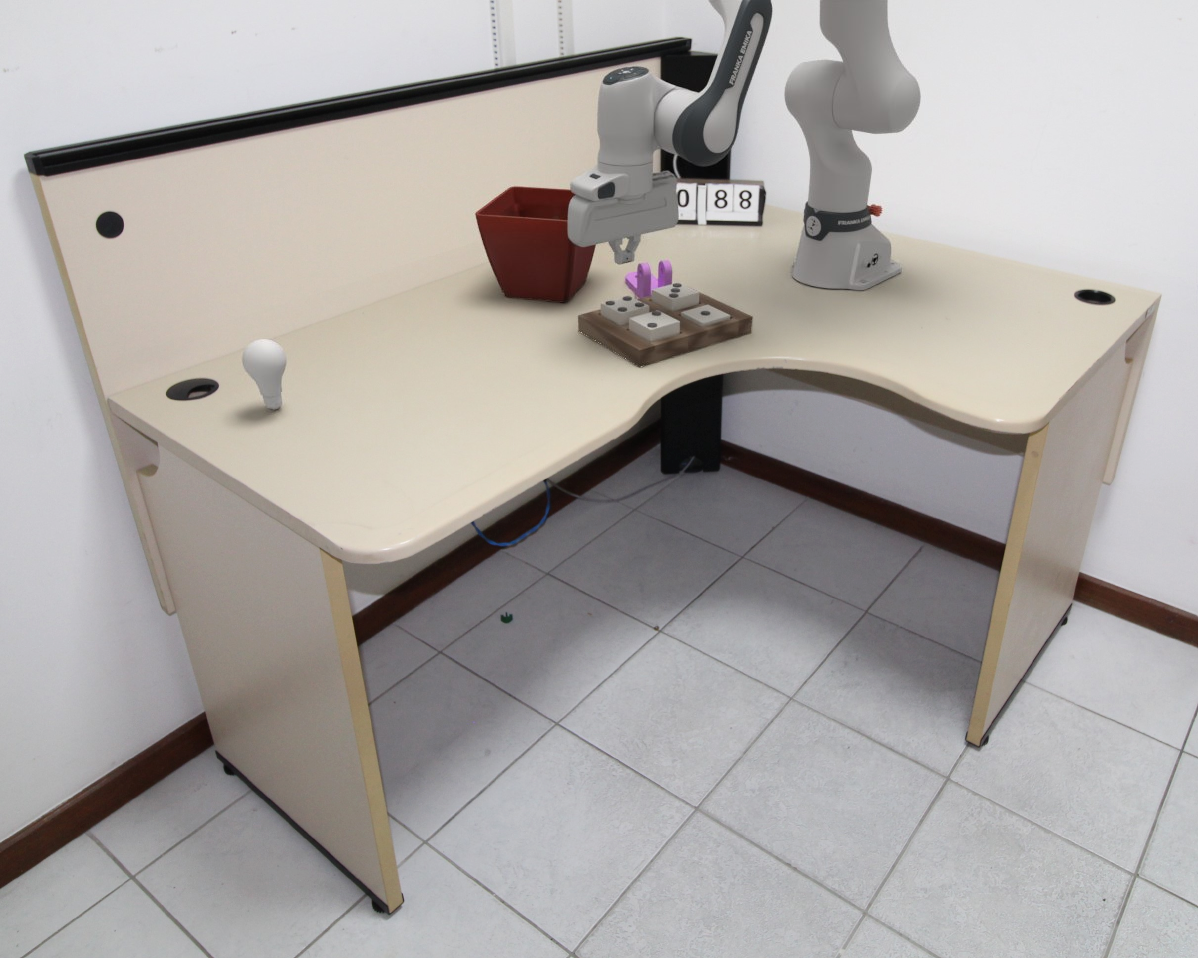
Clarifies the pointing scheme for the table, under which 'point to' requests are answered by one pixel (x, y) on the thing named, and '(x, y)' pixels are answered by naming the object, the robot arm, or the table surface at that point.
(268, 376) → the lightbulb
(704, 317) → the button one dot
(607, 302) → the button four dots
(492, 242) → the plant pot
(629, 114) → the robot arm
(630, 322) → the button two dots
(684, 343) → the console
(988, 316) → the table surface
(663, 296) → the button three dots
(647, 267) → the bracket
